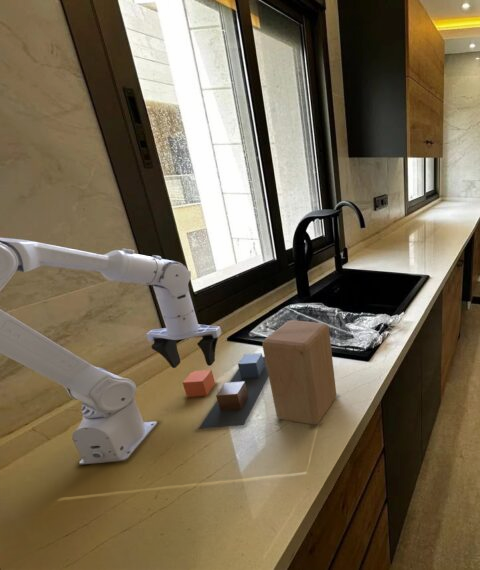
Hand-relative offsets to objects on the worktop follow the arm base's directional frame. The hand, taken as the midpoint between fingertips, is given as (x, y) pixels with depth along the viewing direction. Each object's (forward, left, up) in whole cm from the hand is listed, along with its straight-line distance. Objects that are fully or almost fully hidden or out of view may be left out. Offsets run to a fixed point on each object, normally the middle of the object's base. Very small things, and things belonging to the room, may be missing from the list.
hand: (194, 364), depth 77 cm
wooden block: (-9, -27, -8) cm, 30 cm away
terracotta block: (0, 0, -8) cm, 8 cm away
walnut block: (-6, -10, -7) cm, 14 cm away
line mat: (0, -10, -8) cm, 13 cm away
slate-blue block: (+6, -10, -7) cm, 14 cm away
